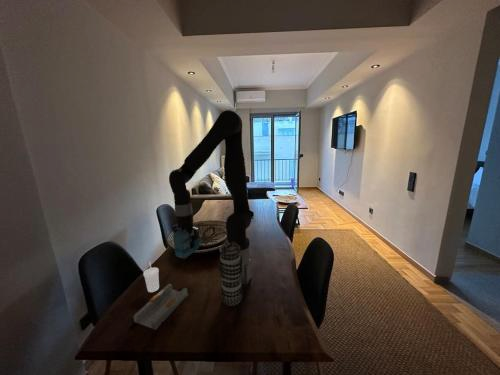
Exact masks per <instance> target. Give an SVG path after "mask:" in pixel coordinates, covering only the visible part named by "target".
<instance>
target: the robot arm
mask: <svg viewBox="0 0 500 375" xmlns="http://www.w3.org/2000/svg"><path fill="white" fill-rule="evenodd" d="M206 133H207V134H206V135H205V136H204V137H203V139H202V140H201V141H199V143H198V144H197V145H196V146H195V147H194V148H193V149H192V150H191V151H190V153H188V155H187V156H186V158H185V159H184V161H183V164H181V166H180V167H179V168H177V169H174V170H172V171H171V172H170V173H169V175H168V176H169V177H168V183H169V187H170V188H171V192H172V194H173V200H174V215H175V223H176V224H174V225H172V226H171V229H172V231H173V234H174V233H175V232H177V231H178V230H184V231H187V232H188V237H189V240H190V248H191V249H193V248H194V247H195V240H197V239H198V237H199V238H200V230H201V229H200V227H199V226H198V228H196V227H194V213H193V212H194V211H193V205H192V197H191V192H190V190H189V189H187V183H189V181H190V180H191V179H192V178H193V177H194V176H195V174H196V173H197V172H198V170H199V169H200V168H201V167H203V165H204V164H206V162H207V161H208V160H209V159H210V157H211V156H212V154H213V153H214V151H215V150H216V149H217V147H218V146H219V145H220V144H221V143H222V142H223V141H224V144H225V145H224V146H225V152H224V160H223V172H224V173H223V174H224V182H225V186H226V188H227V190H228V192H229V194H230V196H231V199H232V203H233V213H231V214H230V215H229V216H227V218H226V222H225V229H226V230H225V232H226V239H227V242H234V243H236V244H237V245H239V246H240V256H242V272H241V273H242V276H241V284H242V286H243V285H246V286H247V285H248V284H249V282H250V281H251V279H252V277H253V276H252V273H253V272H252V271H253V270H252V258H251V257H250V256H251V254H250V239H249V237H247V231H246V230H247V229H248V228H249V227H250V225H251V223H252V217H251V214H250V211H251V209H250V204H249V199H248V196H249V195H248V185H247V171H246V160H245V156H244V148H243V120H242V118H241V116H240V115H239V114H237V112H236V111H234V110H230V109H227V110H224V111H222V112H221V113H220V114H219V115H218V117H217V118H216V120H215V121H214V123H213V125H212V126H211V127H210V129H209V130H208V132H206ZM193 230H194V231H193ZM191 232H192V234H190V233H191ZM191 236H192V237H191ZM240 259H241V258H240ZM240 262H241V261H240Z"/></svg>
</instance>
